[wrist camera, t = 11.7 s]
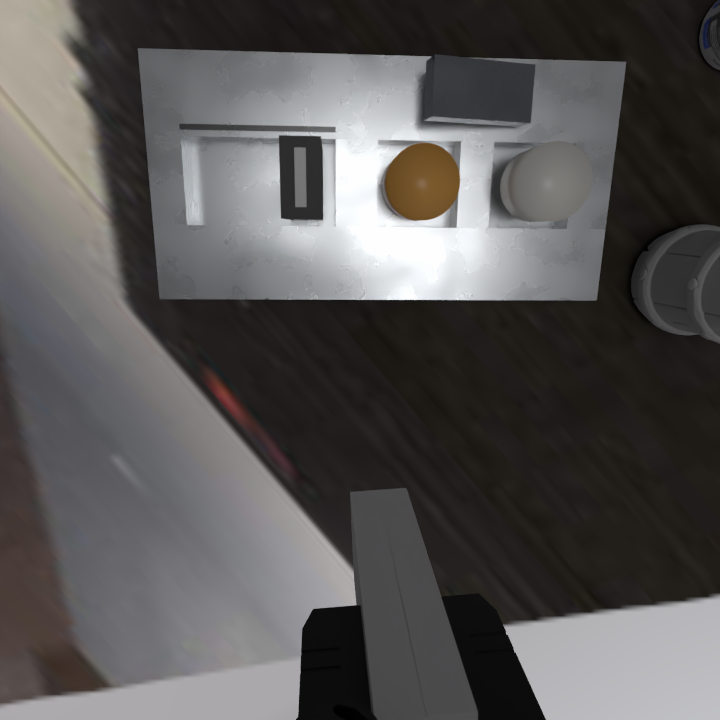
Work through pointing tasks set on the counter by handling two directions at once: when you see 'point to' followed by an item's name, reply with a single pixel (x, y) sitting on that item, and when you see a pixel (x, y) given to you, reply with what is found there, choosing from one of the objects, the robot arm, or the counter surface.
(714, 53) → the pill bottle
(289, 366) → the counter surface
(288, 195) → the slider knob
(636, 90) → the counter surface
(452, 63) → the block
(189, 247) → the panel
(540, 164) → the cream button
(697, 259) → the mug
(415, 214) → the orange button
